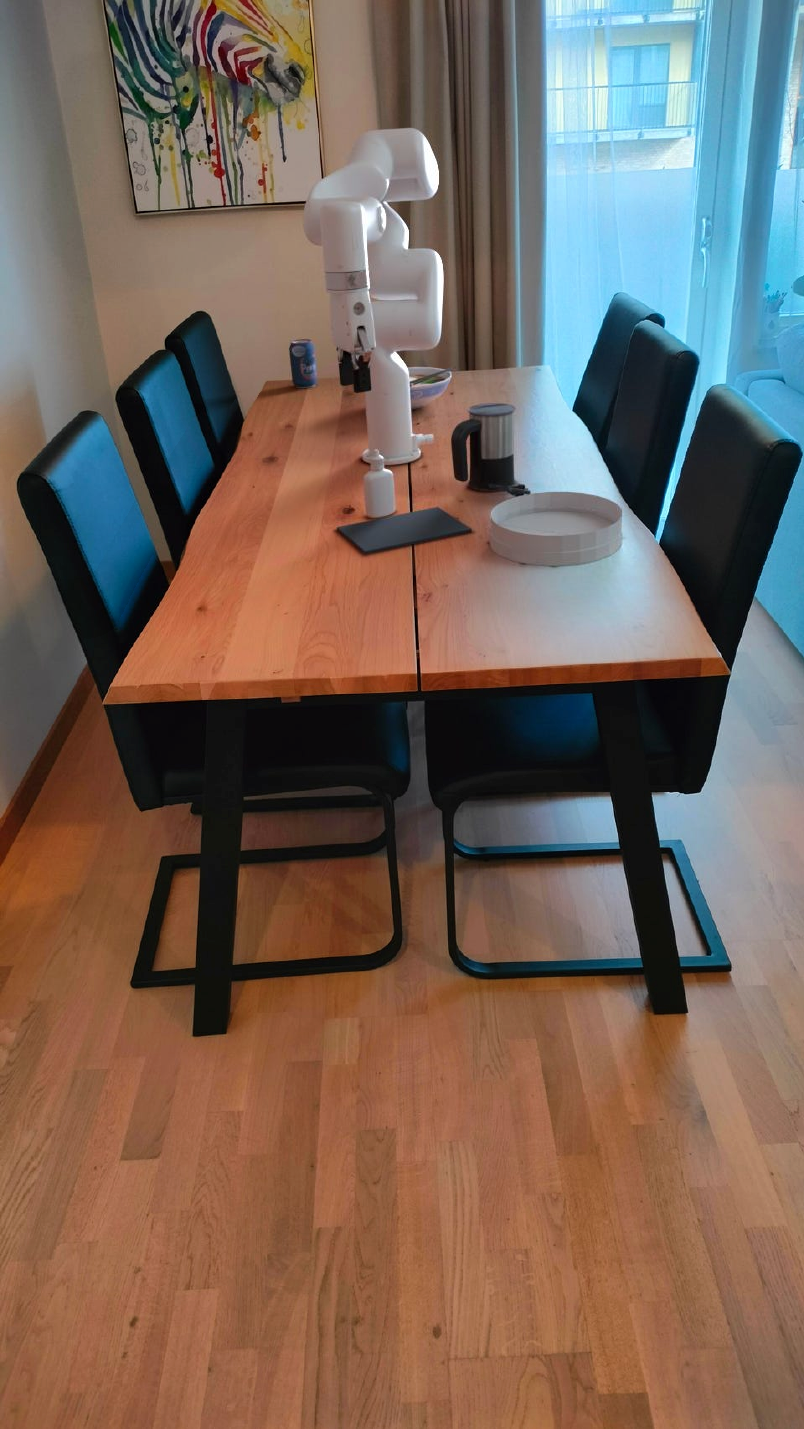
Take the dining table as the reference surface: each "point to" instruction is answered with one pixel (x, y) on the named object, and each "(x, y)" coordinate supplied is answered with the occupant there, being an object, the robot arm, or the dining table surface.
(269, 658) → the dining table surface
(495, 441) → the milk frother
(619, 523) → the dish
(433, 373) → the ramen bowl
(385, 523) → the mat
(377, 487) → the eye dropper bottle
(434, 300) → the robot arm
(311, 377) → the soda can
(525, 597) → the dining table surface
